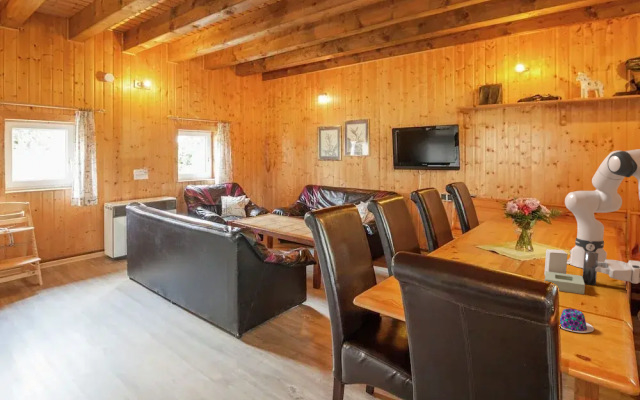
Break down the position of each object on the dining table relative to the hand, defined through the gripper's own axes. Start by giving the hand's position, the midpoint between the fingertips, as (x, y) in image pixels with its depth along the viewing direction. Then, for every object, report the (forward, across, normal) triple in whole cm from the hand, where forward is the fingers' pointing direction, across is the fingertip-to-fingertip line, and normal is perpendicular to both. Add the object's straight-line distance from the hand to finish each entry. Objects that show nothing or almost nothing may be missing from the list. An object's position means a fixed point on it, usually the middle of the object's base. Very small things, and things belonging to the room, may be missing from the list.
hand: (594, 266), depth 172 cm
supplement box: (+14, -2, +8) cm, 17 cm away
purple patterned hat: (+10, +56, +8) cm, 58 cm away
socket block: (+11, +11, +8) cm, 18 cm away
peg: (+1, 0, +8) cm, 8 cm away
